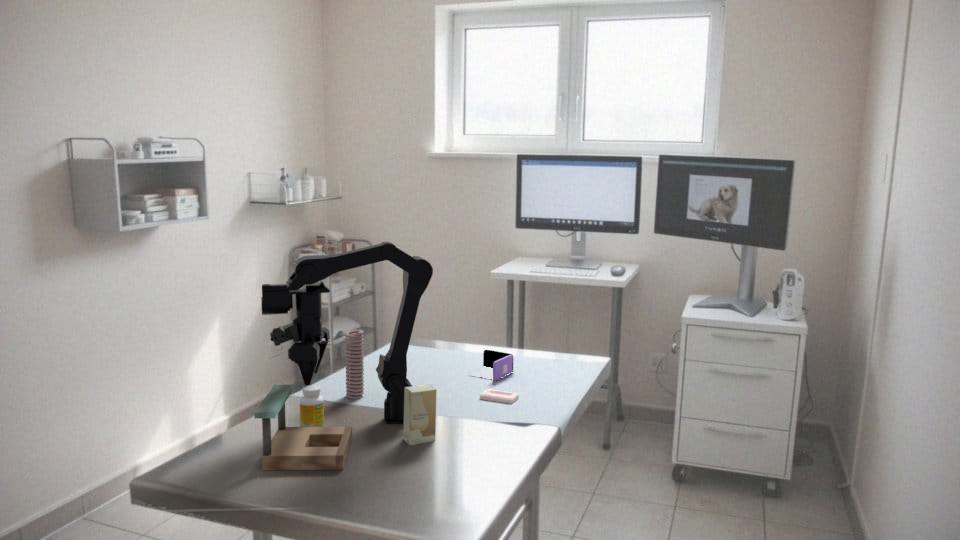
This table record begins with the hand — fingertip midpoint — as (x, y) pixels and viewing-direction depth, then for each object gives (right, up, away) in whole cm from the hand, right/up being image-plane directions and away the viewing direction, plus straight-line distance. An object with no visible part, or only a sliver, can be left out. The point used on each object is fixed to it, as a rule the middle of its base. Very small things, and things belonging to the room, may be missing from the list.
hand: (311, 379), depth 168 cm
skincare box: (+25, -13, -5) cm, 29 cm away
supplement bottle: (0, -12, +1) cm, 12 cm away
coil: (+6, -9, +24) cm, 26 cm away
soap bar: (+44, -10, +23) cm, 50 cm away
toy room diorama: (+42, -6, +44) cm, 61 cm away
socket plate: (+3, -14, -13) cm, 19 cm away
